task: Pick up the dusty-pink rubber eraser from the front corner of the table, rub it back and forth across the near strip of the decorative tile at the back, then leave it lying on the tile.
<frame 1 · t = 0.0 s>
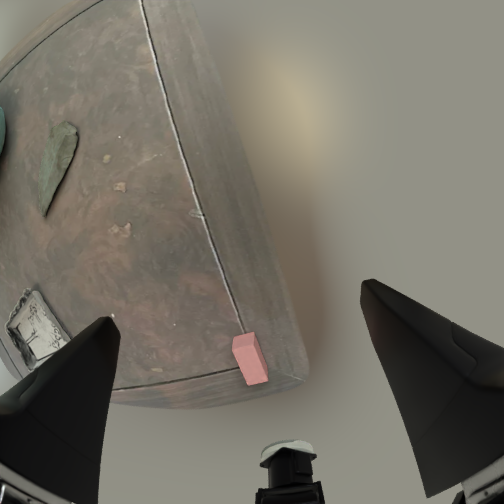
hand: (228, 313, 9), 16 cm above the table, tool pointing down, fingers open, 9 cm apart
stone: (54, 168, 23), on the table
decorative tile: (39, 329, 28), on the table
eraser: (251, 352, 27), on the table
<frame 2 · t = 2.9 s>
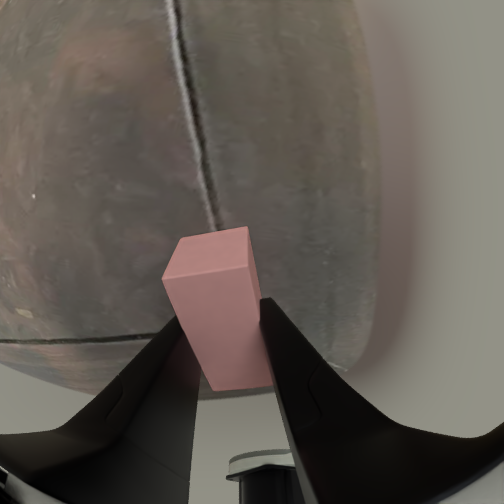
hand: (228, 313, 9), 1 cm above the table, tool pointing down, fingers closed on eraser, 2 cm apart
eraser: (229, 295, 10), on the table, touching gripper
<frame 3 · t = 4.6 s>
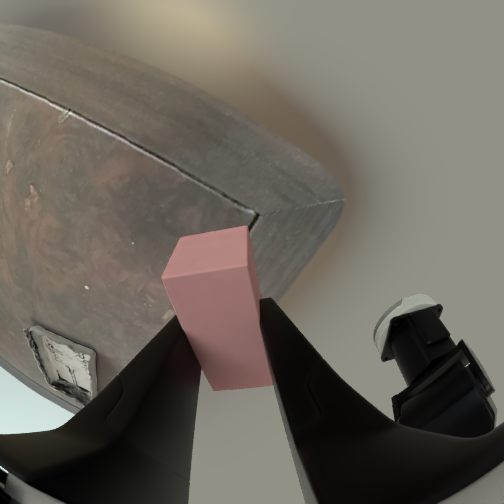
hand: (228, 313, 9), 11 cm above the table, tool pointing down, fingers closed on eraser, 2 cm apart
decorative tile: (69, 362, 27), on the table
eraser: (229, 294, 10), point 10 cm above the table, touching gripper
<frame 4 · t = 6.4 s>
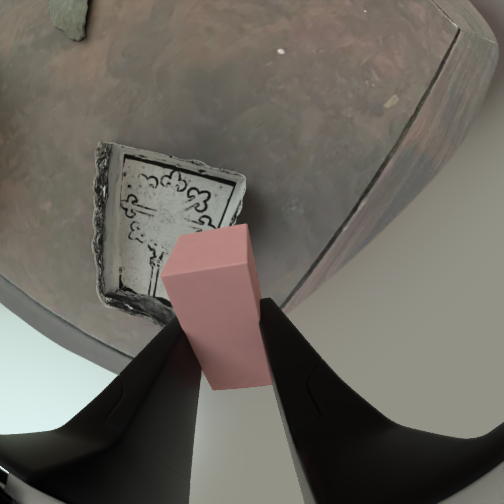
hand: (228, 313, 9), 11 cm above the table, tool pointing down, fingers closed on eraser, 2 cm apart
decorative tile: (158, 235, 20), on the table
eraser: (229, 293, 10), point 10 cm above the table, touching gripper
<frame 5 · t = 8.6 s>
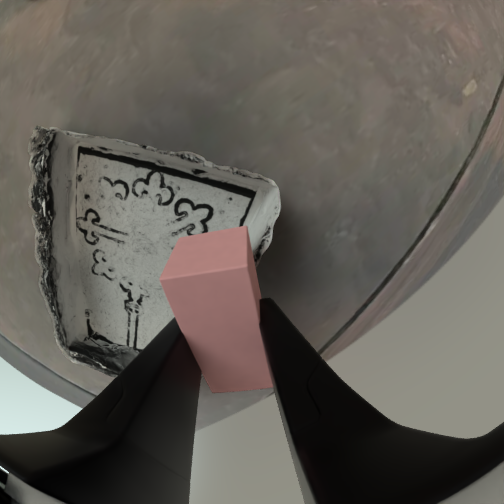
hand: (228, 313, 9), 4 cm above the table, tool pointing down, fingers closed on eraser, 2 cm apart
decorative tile: (134, 271, 13), on the table
eraser: (229, 295, 9), point 3 cm above the table, touching gripper
when the fingers open (4 cm above the table, at t = 10.0 s): eraser stays where it is, resting on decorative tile.
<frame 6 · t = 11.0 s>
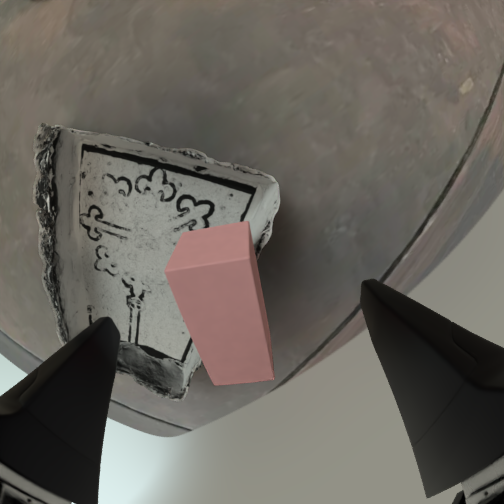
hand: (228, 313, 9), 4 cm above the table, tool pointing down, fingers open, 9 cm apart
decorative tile: (136, 266, 13), on the table, touching eraser
eraser: (230, 289, 10), point 3 cm above the table, touching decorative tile
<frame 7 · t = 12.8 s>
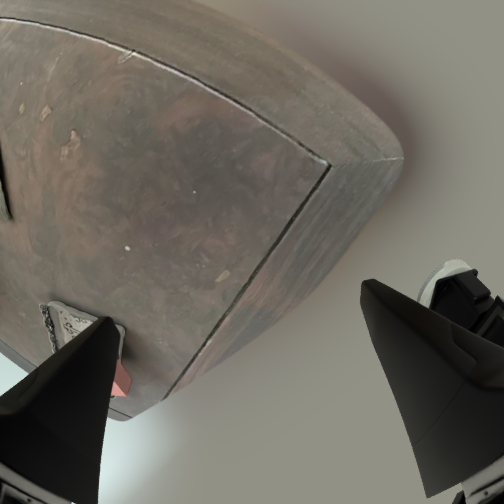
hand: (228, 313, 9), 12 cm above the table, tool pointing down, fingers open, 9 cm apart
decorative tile: (89, 344, 26), on the table, touching eraser
eraser: (113, 364, 23), point 3 cm above the table, touching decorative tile
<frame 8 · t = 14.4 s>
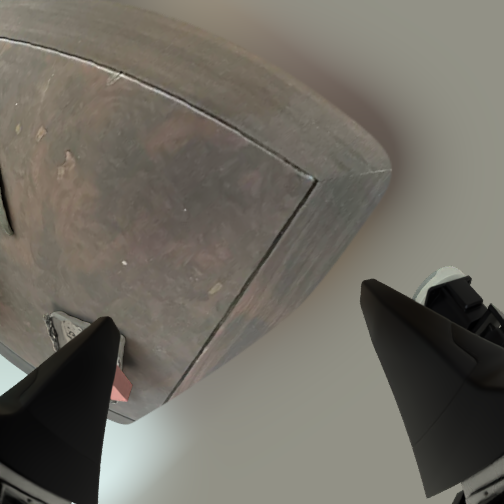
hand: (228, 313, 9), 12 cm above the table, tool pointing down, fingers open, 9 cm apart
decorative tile: (91, 351, 28), on the table, touching eraser
eraser: (114, 371, 24), point 3 cm above the table, touching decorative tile
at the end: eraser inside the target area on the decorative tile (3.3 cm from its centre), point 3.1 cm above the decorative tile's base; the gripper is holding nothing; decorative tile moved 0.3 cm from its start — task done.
